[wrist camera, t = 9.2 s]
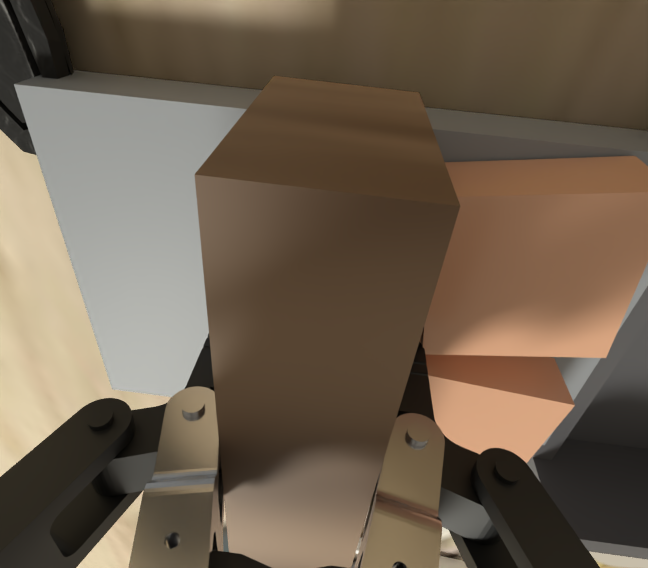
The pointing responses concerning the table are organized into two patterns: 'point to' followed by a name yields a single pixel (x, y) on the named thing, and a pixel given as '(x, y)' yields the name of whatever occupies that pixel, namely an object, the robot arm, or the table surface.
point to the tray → (605, 448)
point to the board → (181, 202)
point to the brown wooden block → (316, 304)
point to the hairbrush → (28, 58)
